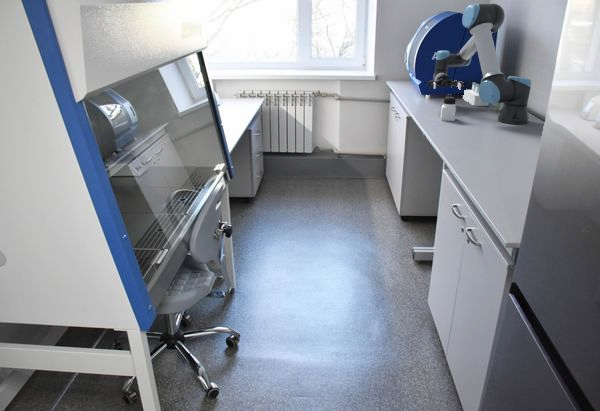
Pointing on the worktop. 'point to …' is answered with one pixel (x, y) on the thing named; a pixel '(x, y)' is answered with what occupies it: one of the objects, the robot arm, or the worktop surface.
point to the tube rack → (474, 96)
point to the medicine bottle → (448, 109)
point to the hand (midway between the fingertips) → (447, 86)
